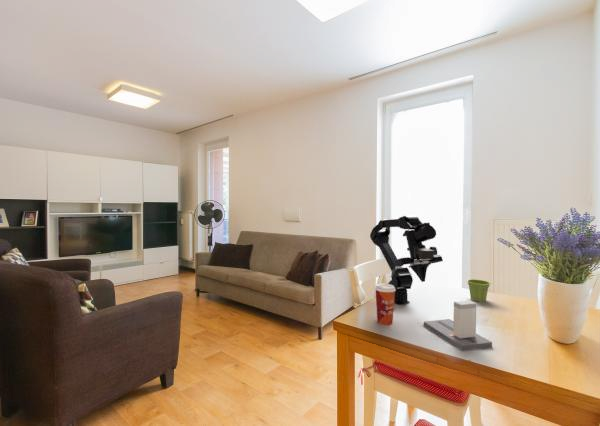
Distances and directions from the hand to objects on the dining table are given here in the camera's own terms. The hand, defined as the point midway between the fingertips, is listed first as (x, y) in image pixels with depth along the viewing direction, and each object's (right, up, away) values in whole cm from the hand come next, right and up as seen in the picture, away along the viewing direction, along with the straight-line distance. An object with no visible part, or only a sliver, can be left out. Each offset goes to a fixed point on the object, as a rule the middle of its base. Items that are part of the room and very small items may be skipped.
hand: (423, 281), depth 121 cm
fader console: (+3, -14, -19) cm, 24 cm away
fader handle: (+4, -12, -23) cm, 27 cm away
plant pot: (+33, -13, +18) cm, 40 cm away
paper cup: (-18, -14, -8) cm, 24 cm away
